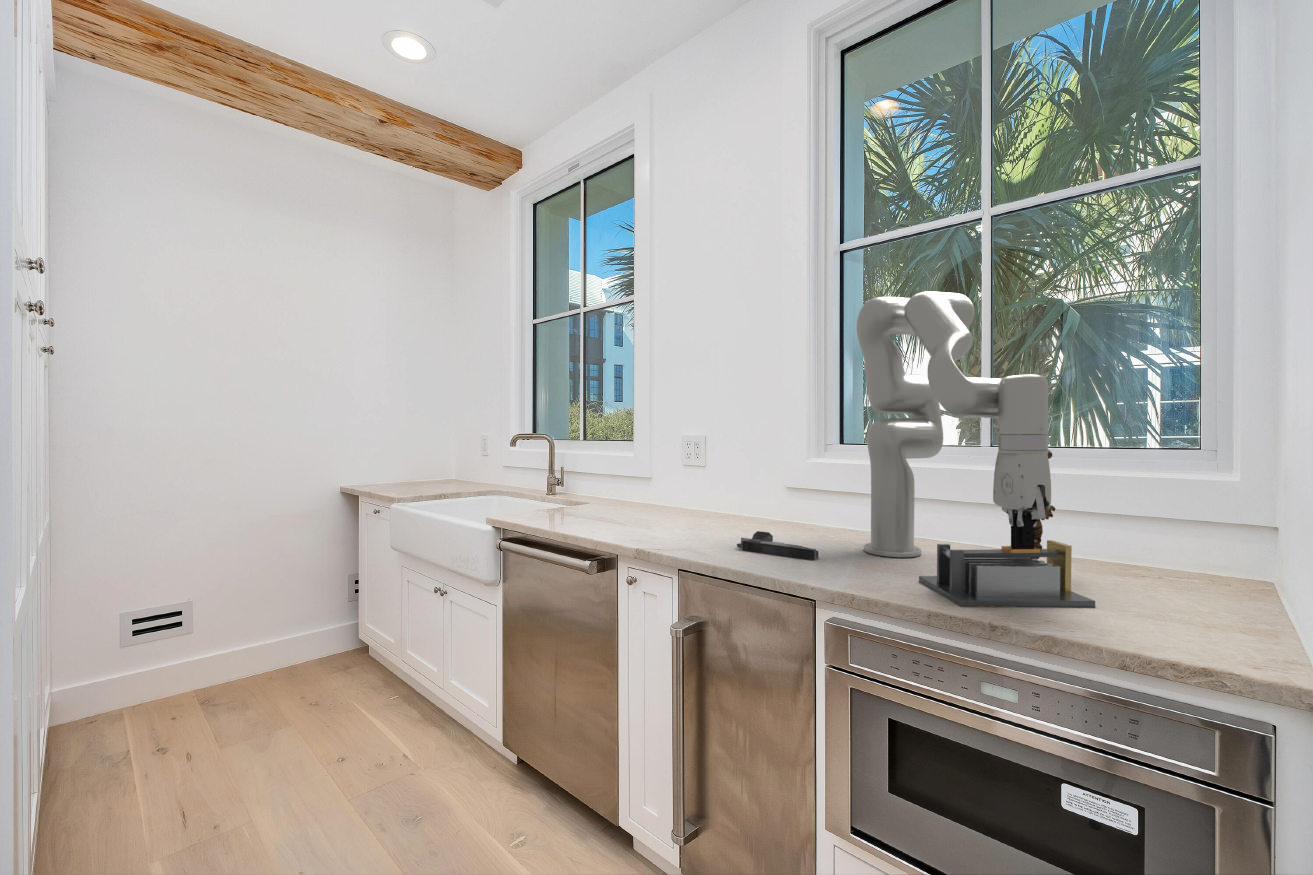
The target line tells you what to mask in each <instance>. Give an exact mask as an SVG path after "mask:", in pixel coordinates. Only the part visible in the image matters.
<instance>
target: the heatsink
mask: <svg viewBox="0 0 1313 875" xmlns="http://www.w3.org/2000/svg"><path fill="white" fill-rule="evenodd" d="M936 548H937V549H936V557H937V558H936V575H919V576H918V582H920V583H921V584H923V585H925V586H927V587H928V588H930V589H931V590H933V591H934V592H936V593H938V594H939V595H941V596H942V597H944V598H946V599H948V600H949V601H951V602H953V603H955V604H956V605H958V606H960V607H961V608H962V607H964V606H966V607H967V606H970V607H972V606H974V607H975V606H1008V607H1007V608H1010V607H1011V606H1015V607H1014V608H1016V607H1017V606H1020V607H1019V608H1022V607H1023V608H1028V607H1029V608H1030V607H1031V608H1036V607H1037V608H1039V607H1040V608H1045V607H1046V608H1096V600H1094V599H1091V598H1089V597H1086V596H1084V595H1081V594H1079V593H1077V592H1075V591H1072V548H1073V547H1072V545H1070V544H1067V543H1063V542H1060V541H1056V540H1052V539H1049V540H1047V539H1046V549H1048V550H1051V551H1054V552H1057V557H1046V561H1044V560H1039V559H1037V558H1031V557H1009V558H964V550H965V549H951V544H949V543H937V545H936ZM943 548H947V549H950V558H948V557H946V556H944V555H942V553H941V551H942V549H943ZM966 607H965V608H966ZM967 608H968V607H967ZM972 608H973V607H972ZM975 608H976V607H975ZM1011 608H1012V607H1011ZM1017 608H1018V607H1017Z"/></svg>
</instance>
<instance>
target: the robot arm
mask: <svg viewBox="0 0 1313 875" xmlns="http://www.w3.org/2000/svg"><path fill="white" fill-rule="evenodd" d="M974 317H975V306H974V303H972V301H971V300H970V298H969V297H967V295H965V294H962V293H957V292H946V291H945V292H944V291H943V292H942V291H929V290H928V291H922V292H918V293H916V294H914V295H912V296H911V297H903V296H902V297H900V296H878V297H875V298H871V299H869V300H868V301H866V302H865V303H864V304H863V306H861V308H860V310H859V313H858V315H857V321H856V336H857V340H858V343H859V346H860V350H861V351H862V352H861V353H862V357H863V360H864V361H863V362H864V369H865V377H866V387H867V394H868V395H867V396H868V401H869V404H870V407H871V409H872V410H873V411H875V412H876V413H880V414H891V415H892V414H896V415H897V414H899V415H900V414H904V415H905V414H906V415H908V416H907V417H908V418H906V417H902V418H901V417H888V418H881V419H879V420H876V421H874V422H873V423H872V424H871V425H870V426H869V427H868V430H867V433H866V446H867V449H868V450H867V451H868V456H869V464H870V542H869V543H865V544H863V551H864V552H866V553H868V554H871V555H875V556H879V557H880V556H881V557H889V558H915V557H919V556H921V555H922V549H921V547H918V546H915V475H914V473H913V470H912V468H911V466H910V464H909V462H908V460H907V459H927V458H928V459H929V458H933V457H935V456H937V455H938V454H939V453H940V451H941V450H942V448H943V445H944V429H943V422H942V421H943V420H942V414H941V407H940V405H941V406H942V408H943V409H944V410H945V411H946V412H947V413H948V414H950V415H952V416H954V417H957V418H983V419H984V418H985V419H989V418H990V419H997V424H998V426H997V428H998V430H997V432H998V433H997V434H998V435H997V437H998V438H997V440H998V446H997V447H998V449H997V454H996V458H995V464H994V474H993V486H992V488H993V489H992V492H993V493H992V501H993V504H995V506H997V507H1000V508H1001V510H1002V512H1004V513H1005V514H1007V515H1008V522H1009V523H1008V524H1009V525H1010V546H1011V547H1012V548H1015V549H1034V527H1036V525H1037V520H1038V519H1040V520H1041V519H1044V518H1045V510H1048V509H1049V508H1050V505H1051V504H1052V479H1051V467H1050V461H1049V459H1048V455H1047V454H1048V450H1049V383H1048V382H1049V381H1048V379H1047V378H1046V377H1045V376H1043V375H1041V374H1040V375H1039V374H1018V375H1017V374H1016V375H1008V376H1004V377H1003V378H998V377H997V378H996V377H992V378H991V377H971V376H970V377H969V376H967V377H966V376H965V375H964V374H963V373H962V371H961V369H960V368H959V367H958V365H957V364H956V363H955V362H957V361H958V360H960V359H961V358H962V357H964V356H965V355H966V354H967V353H969V351H970V350H971V348H972V347H973V344H974V343H973V342H974V338H973V335H972V333H971V332H970V331H969V329H968V328H970V326H971V324H972V323H973V321H974ZM891 334H893V335H905V336H906V335H908V336H909V335H910V336H912V335H913V336H916V337H917V338H918V340H919V342H921V344H922V346H923V347H924V348H925V351H926V352H927V353H928V355H929V356H930V358H929V360H928V362H927V376H925V375H921V374H911V373H910V374H909V373H906V371H905V368H904V364H903V355H902V352H901V351H900V348H899V347H898V345H897V344H896V343H895V341H894V340H893V339H892V338H891V336H890V335H891ZM1051 506H1052V505H1051ZM1027 508H1031V509H1027Z"/></svg>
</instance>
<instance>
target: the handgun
mask: <svg viewBox="0 0 1313 875" xmlns="http://www.w3.org/2000/svg"><path fill="white" fill-rule="evenodd" d="M773 538H774V537H773V535H772V534H771V533H770V532H768V531H762V530H760V531H759V530H758V531H756V532H755V533H753V534H752V538H748V537H740V543H736V547H737V548H739V549H741V551H745V552H751V553H759V554H765V555H772V556H773V555H774V556H778V557H779V556H780V557H786V558H793V559H799V560H808V561H816V560H817V559H819V550H817V549H815V548H811V547H806V546H803V545H799V544H790V543H785V542H778V541H774V539H773Z"/></svg>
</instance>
